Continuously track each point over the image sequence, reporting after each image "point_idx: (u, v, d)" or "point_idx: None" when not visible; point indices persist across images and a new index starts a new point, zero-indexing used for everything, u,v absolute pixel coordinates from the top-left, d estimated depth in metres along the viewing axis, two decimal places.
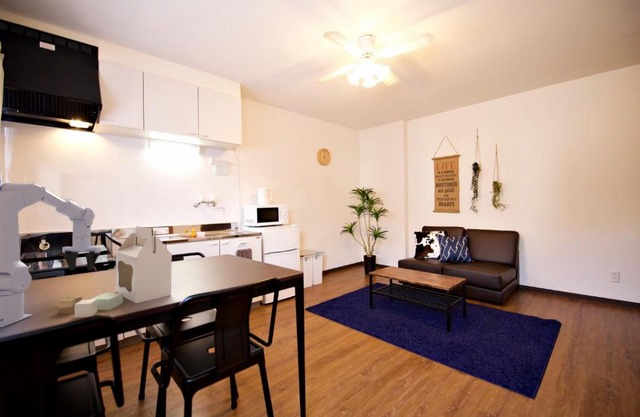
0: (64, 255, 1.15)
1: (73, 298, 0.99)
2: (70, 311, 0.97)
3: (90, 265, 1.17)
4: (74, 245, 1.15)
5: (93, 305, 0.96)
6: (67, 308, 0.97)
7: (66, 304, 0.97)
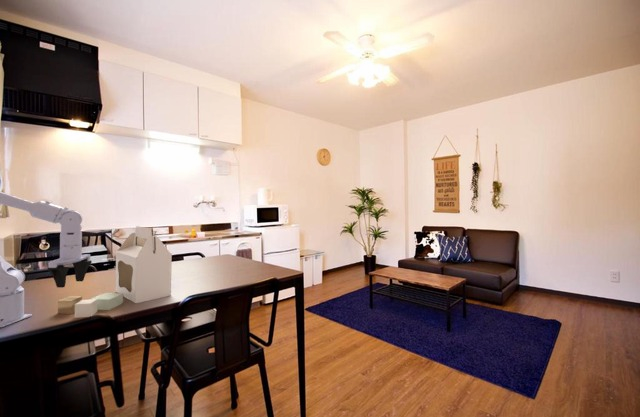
0: None
1: (73, 298, 0.99)
2: (70, 311, 0.97)
3: (57, 281, 0.95)
4: None
5: (93, 305, 0.96)
6: (67, 308, 0.97)
7: (66, 304, 0.97)
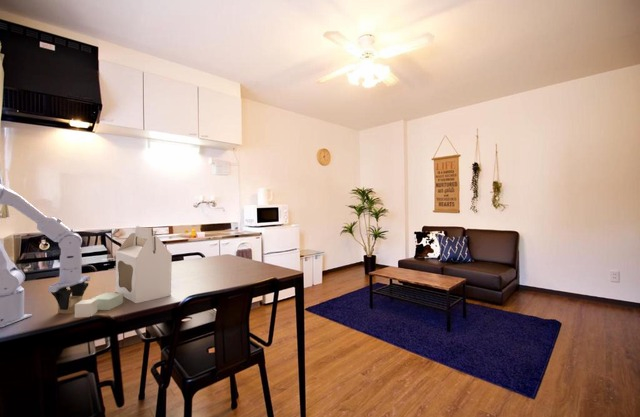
0: None
1: (73, 298, 0.99)
2: (70, 311, 0.97)
3: (60, 304, 0.96)
4: None
5: (93, 305, 0.96)
6: None
7: None
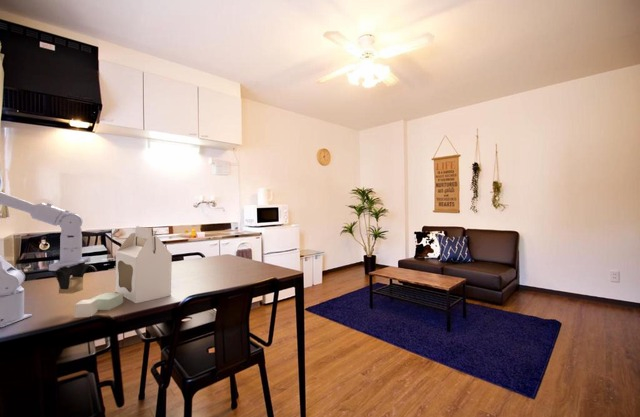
0: None
1: (74, 278, 0.99)
2: (71, 291, 0.97)
3: (61, 283, 0.96)
4: None
5: (93, 305, 0.96)
6: (68, 288, 0.97)
7: None
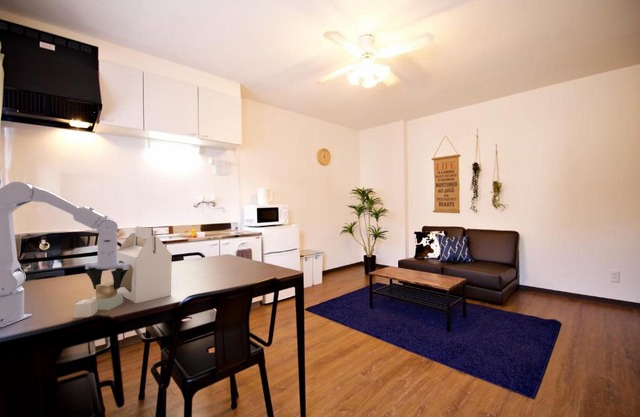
0: (89, 273, 1.01)
1: (109, 283, 1.05)
2: (116, 292, 1.06)
3: (117, 284, 1.03)
4: (100, 262, 1.01)
5: (93, 305, 0.96)
6: (114, 290, 1.05)
7: None
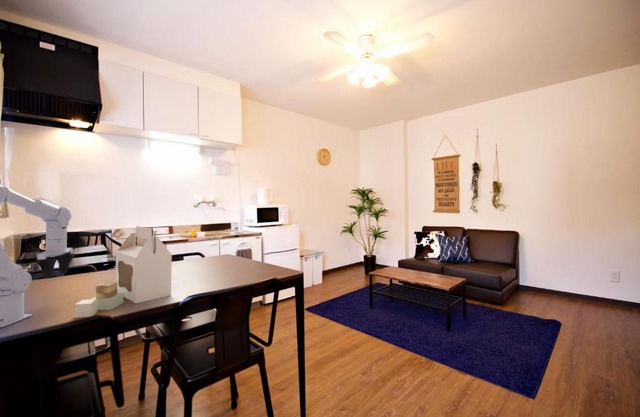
0: None
1: (109, 283, 1.05)
2: (116, 292, 1.06)
3: (45, 272, 1.02)
4: None
5: (93, 305, 0.96)
6: (114, 290, 1.05)
7: (114, 287, 1.05)
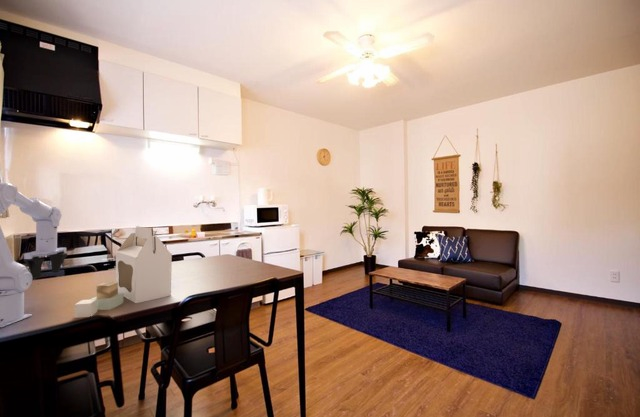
0: None
1: (109, 283, 1.05)
2: (117, 292, 1.06)
3: (33, 272, 1.02)
4: None
5: (93, 305, 0.96)
6: (115, 290, 1.05)
7: (115, 287, 1.05)
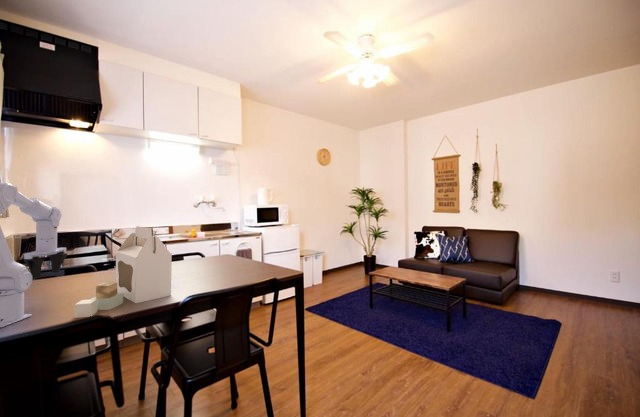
0: None
1: (109, 283, 1.05)
2: (116, 292, 1.06)
3: (33, 272, 1.02)
4: None
5: (93, 305, 0.96)
6: (114, 290, 1.05)
7: (114, 287, 1.05)
